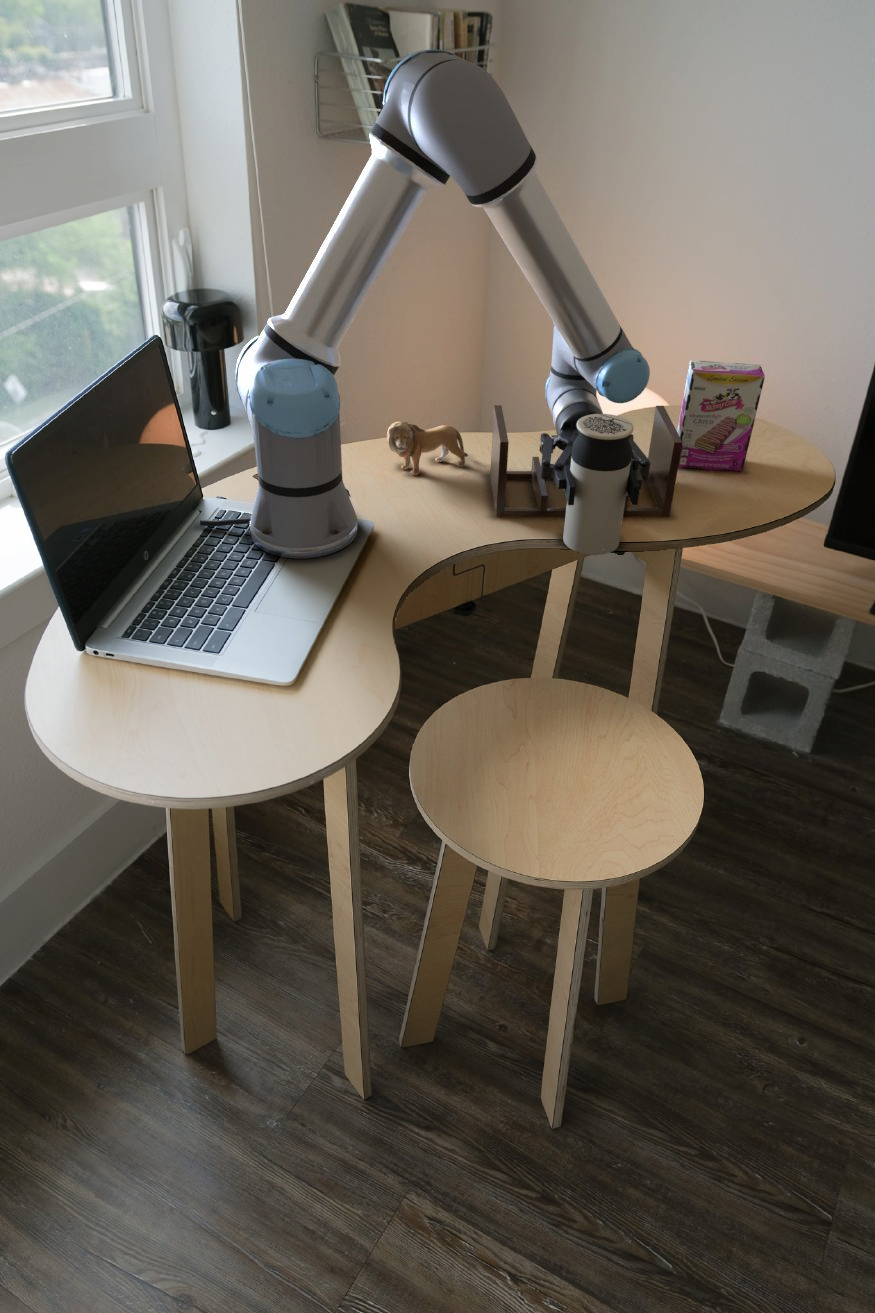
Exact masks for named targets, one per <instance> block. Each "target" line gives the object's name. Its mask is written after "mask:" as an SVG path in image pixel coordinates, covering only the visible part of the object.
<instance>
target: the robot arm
mask: <svg viewBox="0 0 875 1313" xmlns="http://www.w3.org/2000/svg"><path fill="white" fill-rule="evenodd" d="M368 135H369V136H368V137H369V140H370V145H371V155H370V157H369V158H368V161H367V162H366V164H365V166H364V168H363V169H362V172H361V174H360V175H359V176H358V179H357V180H356V182H355V184H354V186H353V188H352V190H351V192H350V194H349V195H348V196H347V199H346V200H345V203H344V205H343V206H342V208H341V210H340V212H339V214H338V215H337V217H336V219H335V221H334V223H333V225H332V226H331V228H330V230H329V232H328V233H327V236H326V237H325V239H324V240H323V243H322V244H321V247H320V248H319V250H318V252H317V253H316V256H315V258H314V259H313V261H312V263H311V264H310V266H309V269H308V271H307V272H306V274H305V276H304V277H303V279H302V282H301V283H300V285H299V287H298V288H297V291H296V292H295V294H294V296H293V298H292V300H291V301H290V303H289V305H288V307H287V309H286V311H285V312H284V313H282V314H279V315H275V316H270V317H269V318H268V320H267V322H266V324H265V325H264V328H263V330H262V331H261V333H260V334H259V335H257V336H255V337H254V338H252V339H251V340H249V341H248V343H246V344H245V346H244V347H243V348H242V350H241V352H240V354H239V356H238V358H237V361H236V367H235V386H236V391H237V393H238V395H239V399H240V401H241V403H242V405H243V407H244V410H245V413H246V416H247V418H248V422H249V424H250V427H251V431H252V436H253V443H254V452H255V461H256V471H257V481H258V488H257V491H256V494H255V499H254V503H253V507H252V511H251V515H250V517H243V518H231V519H230V518H229V519H218V520H217V519H216V520H213V519H212V520H208V519H200V520H199V525H200V526H203V527H204V526H205V527H222V526H223V527H225V526H233V525H248V524H249V530H250V537H251V540H252V542H253V543H254V544H255V546H256V547H258V548H259V549H260V550H262V551H263V552H265V553H268V554H271V555H274V556H277V557H281V558H287V559H313V558H319V557H320V558H321V557H324V556H327V555H331V554H334V553H336V552H339V551H341V550H343V549H344V548H346V547H347V546H349V545H350V544H351V543H352V542H353V541H354V540H355V539H356V537H357V535H358V517H357V514H356V510H355V508H354V505H353V504H352V501H351V500H352V499H351V498H352V496H351V494H350V492H349V489H348V488H346V486H345V483H344V481H343V480H344V479H343V461H342V460H343V459H342V439H341V438H342V437H341V416H340V415H341V414H340V410H341V395H340V392H339V388H338V383H337V380H336V378H335V375H336V373H337V372H338V370H339V368H340V366H341V364H342V359H341V356H340V351H339V346H340V345H341V343H342V341H343V339H344V337H345V336H346V334H347V332H348V330H349V329H350V327H351V326H352V324H353V322H354V321H355V319H356V317H357V315H358V314H359V311H360V310H361V308H362V306H363V305H364V303H365V301H366V300H367V298H368V296H369V294H370V292H371V291H372V289H373V287H374V285H375V284H376V283H377V280H378V279H379V277H380V275H381V273H382V271H383V270H384V268H385V266H386V265H387V263H388V262H389V259H390V258H391V257H392V254H393V252H394V251H395V249H396V247H397V246H398V244H399V242H400V240H401V239H402V238H403V235H404V234H405V232H406V230H407V228H408V227H409V225H410V223H411V221H412V220H413V218H414V216H415V215H416V213H417V211H418V210H419V207H420V206H421V204H422V202H423V200H424V199H425V197H426V195H427V194H428V193H429V192H431V191H434V190H437V189H442V188H445V186H446V184H447V182H448V181H449V179H450V178H452V180H453V181H454V182H455V183H456V184H457V185H458V186H459V188H460V189H461V191H462V192H463V194H464V195H465V197H466V198H467V200H468V201H469V203H470V205H471V206H473V207H475V208H482V209H483V210H484V212H485V214H486V215H487V217H488V218H489V220H490V222H491V223H492V225H493V227H494V228H495V229H496V231H497V234H499V236H500V238H501V240H502V241H503V243H504V245H505V246H506V247H507V249H508V251H509V252H510V255H512V257H513V259H514V261H515V262H516V264H517V265H518V267H519V268H520V270H521V272H522V273H523V275H524V277H525V279H526V280H527V282H528V283H529V285H530V286H531V288H532V290H533V291H534V293H535V295H536V296H537V298H538V299H539V301H540V303H541V304H542V306H543V307H544V309H545V311H546V313H547V314H548V315H549V317H550V319H551V320H552V322H553V324H552V325H553V335H552V336H553V338H552V352H551V365H550V370H549V371H550V372H549V376H548V378H547V379H546V382H545V394H544V395H545V401H546V404H547V407H548V408H549V412H550V415H551V418H552V419H551V420H552V422H553V426H554V429H555V433H556V437H554V436H550V434H548V433H546V432H544V433H543V432H542V433H541V434H540V439H539V452H540V453H541V461H540V464H541V473H540V478H541V479H544V480H549V479H548V478H549V477H552V478H554V479H552V485H553V486H554V487H556V488H557V489H558V490H563V491H564V496H565V498H566V504H567V503H568V505H574V499H575V489H576V486H575V483H574V479H573V476H572V473H571V471H570V466H571V456H572V447H573V443H574V442H575V440H576V439H577V437H578V436H579V430H578V428H577V422H578V420H579V419H580V418H582V417H584V416H587V415H591V414H604V412H603V410H602V409H603V408H602V407H601V404H600V402H599V399H598V397H597V393H598V394H599V396H601V397H604V398H605V399H606V400H608V401H609V402H611V403H615V404H626V403H629V402H632V401H633V400H635V399H637V398H638V397H639V396H640V395H641V394H642V393H643V392H644V391H645V389H646V388H647V386H648V384H649V381H650V375H651V370H650V364H649V363H648V361H647V360H646V358H645V357H644V356H643V354H642V352H641V351H639V350H638V349H636V348H634V346H633V345H632V343H631V342H630V340H629V338H628V337H627V335H626V333H625V331H624V330H623V328H622V327H621V324H620V322H619V320H618V319H617V316H616V315H615V313H614V311H613V309H612V308H611V306H610V304H609V302H608V301H607V299H606V297H605V294H604V293H603V292H602V290H601V288H600V286H599V284H598V283H597V280H596V279H595V277H594V276H593V274H592V272H591V269H590V268H589V267H588V265H587V263H586V261H585V259H584V257H583V255H582V253H581V252H580V250H579V248H578V246H577V244H576V243H575V241H574V239H573V237H572V235H571V234H570V232H569V230H568V228H567V226H566V225H565V222H564V221H563V219H562V217H561V215H560V214H559V212H558V210H557V209H556V206H555V205H554V203H553V201H552V200H551V197H550V196H549V195H548V194H549V193H547V191H546V188H545V187H544V185H543V183H542V181H541V180H540V178H539V176H538V174H537V173H536V171H535V170H536V167H537V163H538V157H537V155H536V152H535V150H534V149H533V147H532V145H531V144H530V142H529V139H528V137H527V136H526V133H525V132H524V130H523V127H522V126H521V124H520V122H519V120H518V118H517V116H516V114H515V112H514V110H513V108H512V105H511V104H510V102H509V100H508V99H507V96H506V95H505V93H504V91H503V89H502V88H501V87H500V85H499V84H498V82H497V81H496V80H495V78H494V77H493V76H492V74H490V73H489V72H488V71H487V70H486V69H485V68H483V67H481V66H480V65H477V64H476V63H474V62H471V61H468V60H466V59H464V58H462V57H460V56H458V55H457V54H454V53H453V52H451V51H447V50H444V49H432V48H431V49H423V50H419V51H416V52H412V53H411V54H409V55H407V56H405V57H404V58H402V59H401V60H400V61H399V62H398V63H397V64H396V65H395V66H394V68H393V69H392V71H391V72H390V74H389V76H388V78H387V80H386V83H385V86H384V91H383V98H382V110H381V111H380V113H379V115H378V117H377V119H376V121H375V122H374V125H373V126H372V128H371V130H370V132H369V134H368ZM629 442H630V444H631V447H632V457H631V464H630V471H629V478H628V485H627V493H628V496H629V501H630V504H631V506H638V505H639V498H640V491H641V489H642V486H643V481H645V480H646V479H648V476H649V470H650V463H651V462H650V461H649V459H648V456H647V455H646V454H645V453H644V452H643V451H642V449H641V448H640V447H639V445H638V444H637V443H636V441H635V440H634V434H632V433H631V434H630V437H629ZM556 448H557V449H559V450H561V451H562V452H561V453H560V455H559V456H558V458H557V460H556V461H555V462H554V463H551V461H552V454H554V450H556ZM643 479H644V480H643ZM646 481H647V480H646Z"/></svg>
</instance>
